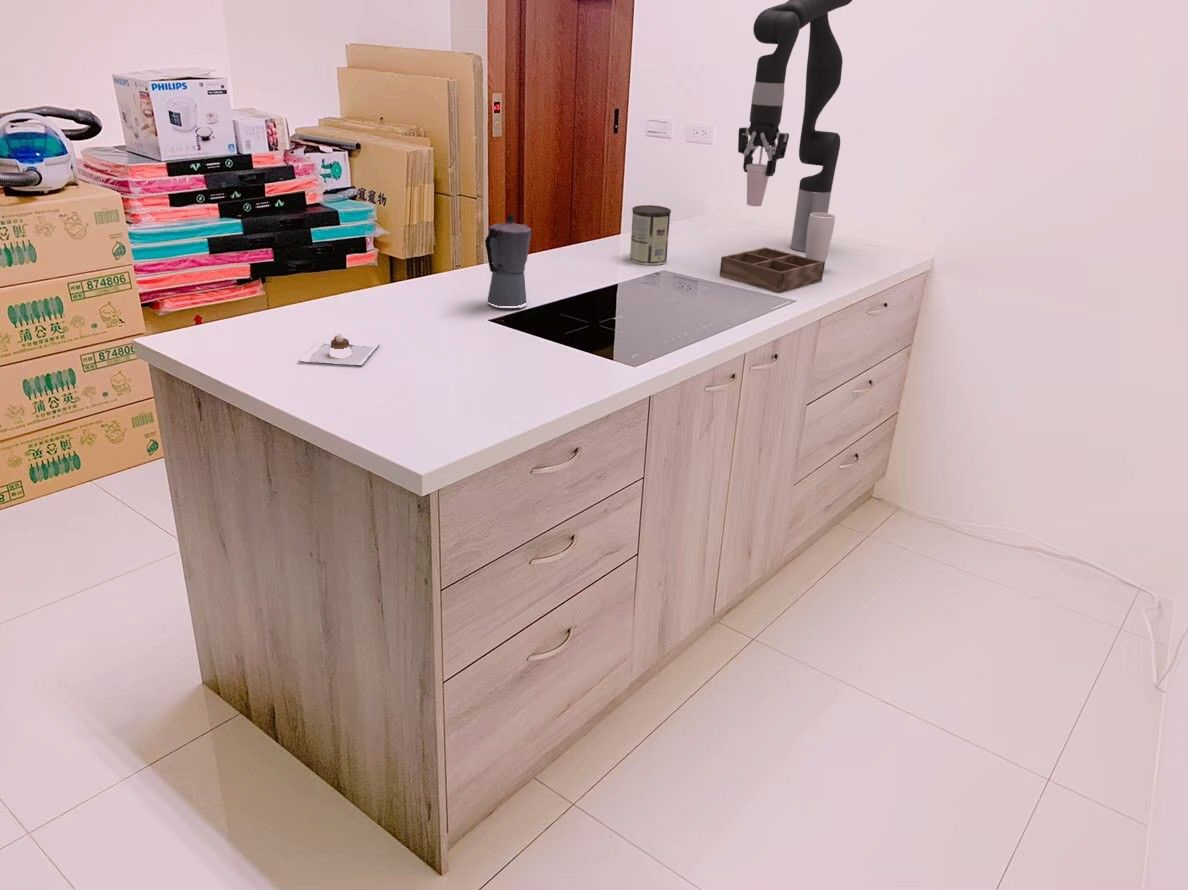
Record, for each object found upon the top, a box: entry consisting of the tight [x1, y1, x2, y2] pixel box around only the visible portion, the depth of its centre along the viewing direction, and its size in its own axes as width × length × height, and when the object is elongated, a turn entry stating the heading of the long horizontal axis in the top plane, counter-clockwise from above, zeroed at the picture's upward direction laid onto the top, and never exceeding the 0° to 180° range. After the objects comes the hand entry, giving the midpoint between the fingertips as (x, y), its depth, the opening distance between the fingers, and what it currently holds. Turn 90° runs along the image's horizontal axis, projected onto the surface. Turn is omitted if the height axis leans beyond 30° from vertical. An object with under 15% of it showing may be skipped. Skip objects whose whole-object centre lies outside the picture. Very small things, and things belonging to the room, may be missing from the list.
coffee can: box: [629, 204, 672, 266], centre depth 236 cm, size 10×10×14 cm
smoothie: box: [746, 146, 770, 207], centre depth 219 cm, size 6×6×14 cm
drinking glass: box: [804, 212, 836, 268], centre depth 234 cm, size 7×7×15 cm
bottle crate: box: [719, 247, 826, 294], centre depth 227 cm, size 19×19×5 cm
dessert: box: [329, 333, 350, 349], centre depth 164 cm, size 12×12×5 cm
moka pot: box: [484, 214, 533, 306], centre depth 192 cm, size 10×15×20 cm, turn 155°
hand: (758, 173), depth 219 cm, fingers closed on smoothie, 6 cm apart
